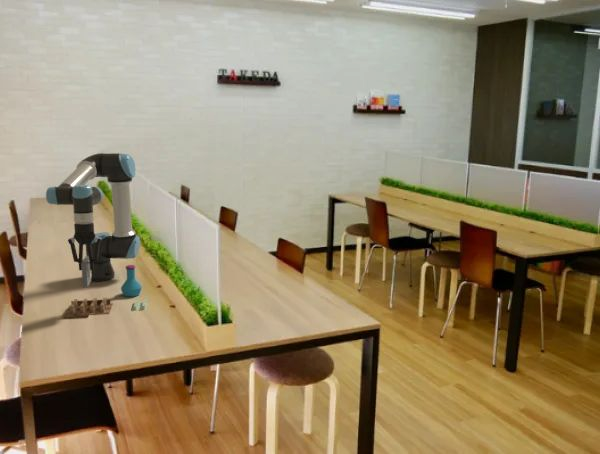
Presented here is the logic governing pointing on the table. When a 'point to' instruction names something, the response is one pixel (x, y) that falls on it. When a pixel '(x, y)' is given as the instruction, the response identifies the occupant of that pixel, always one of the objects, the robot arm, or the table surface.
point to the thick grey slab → (85, 272)
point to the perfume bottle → (131, 283)
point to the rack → (88, 308)
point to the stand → (140, 305)
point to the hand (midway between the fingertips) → (86, 277)
